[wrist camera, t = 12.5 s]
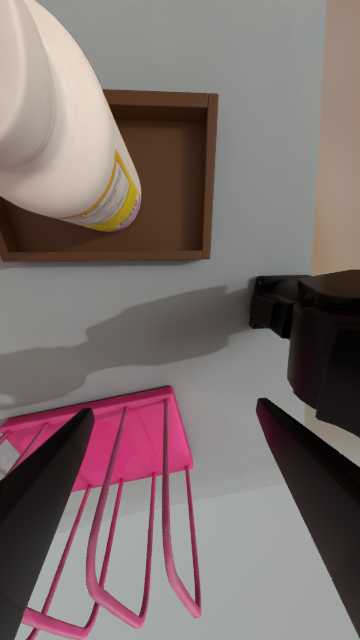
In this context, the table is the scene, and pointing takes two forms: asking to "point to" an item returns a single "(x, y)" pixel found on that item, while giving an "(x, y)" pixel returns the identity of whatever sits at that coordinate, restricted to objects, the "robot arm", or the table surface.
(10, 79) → the supplement bottle
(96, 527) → the file sorter
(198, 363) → the table surface
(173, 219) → the tray
